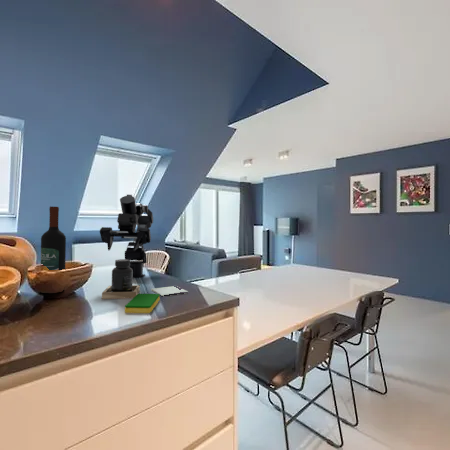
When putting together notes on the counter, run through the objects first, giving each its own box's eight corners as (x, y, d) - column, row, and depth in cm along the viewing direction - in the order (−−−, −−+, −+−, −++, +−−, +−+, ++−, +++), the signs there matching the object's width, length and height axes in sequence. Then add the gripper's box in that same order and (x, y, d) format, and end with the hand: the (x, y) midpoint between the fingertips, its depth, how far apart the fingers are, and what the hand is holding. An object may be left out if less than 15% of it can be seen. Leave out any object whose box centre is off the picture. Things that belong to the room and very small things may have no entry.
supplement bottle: (106, 295, 98) (107, 260, 98) (122, 291, 104) (123, 258, 104) (121, 298, 95) (121, 262, 95) (136, 293, 101) (137, 259, 101)
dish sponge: (124, 314, 80) (124, 305, 80) (138, 300, 94) (138, 293, 94) (150, 314, 80) (150, 306, 80) (159, 301, 94) (160, 293, 94)
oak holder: (109, 291, 104) (109, 285, 104) (139, 290, 105) (139, 285, 105) (101, 299, 93) (101, 292, 93) (135, 298, 95) (135, 292, 95)
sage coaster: (151, 290, 106) (151, 288, 106) (175, 287, 112) (175, 285, 112) (161, 296, 98) (161, 294, 98) (187, 293, 104) (187, 291, 104)
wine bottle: (69, 291, 103) (70, 207, 102) (46, 295, 96) (48, 205, 96) (58, 288, 107) (59, 207, 106) (35, 291, 100) (37, 206, 100)
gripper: (102, 207, 113) (90, 233, 101) (150, 208, 115) (144, 234, 103) (107, 228, 120) (97, 255, 108) (153, 229, 122) (147, 255, 110)
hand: (121, 249), depth 107 cm, fingers open, 9 cm apart
